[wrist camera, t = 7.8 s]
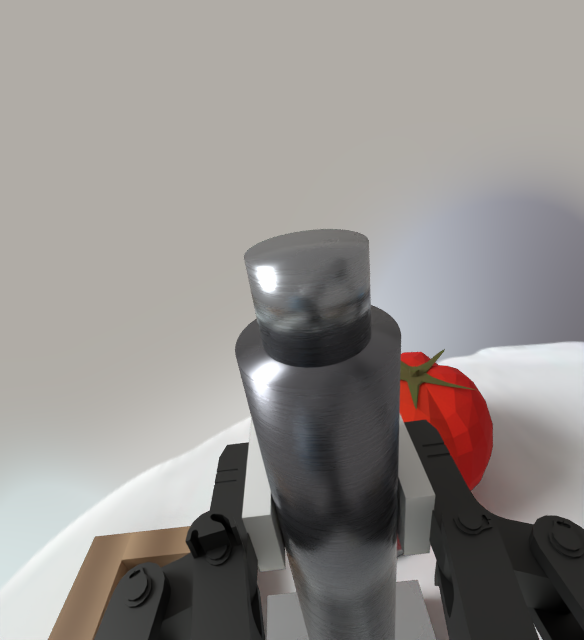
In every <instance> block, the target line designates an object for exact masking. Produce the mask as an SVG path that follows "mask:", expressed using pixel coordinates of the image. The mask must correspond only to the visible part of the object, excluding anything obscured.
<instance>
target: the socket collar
mask: <svg viewBox="0 0 584 640" xmlns="http://www.w3.org/2000/svg"><path fill="white" fill-rule="evenodd" d="M266 640H309V637H308V633H307V630H306V626H305V622H304V618H303V614H302V610H301V606H300V602H299V599H298V595H297V592H296V593H286V594H276V595H268V597H267V639H266ZM395 640H436V637H435V634H434V630H433V627H432V624H431V621H430V618H429V615H428V611H427V608H426V605H425V602H424V599H423V595H422V592H421V589H420V586H419V583H418V580H412V581H402V582H396V613H395Z"/></svg>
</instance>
